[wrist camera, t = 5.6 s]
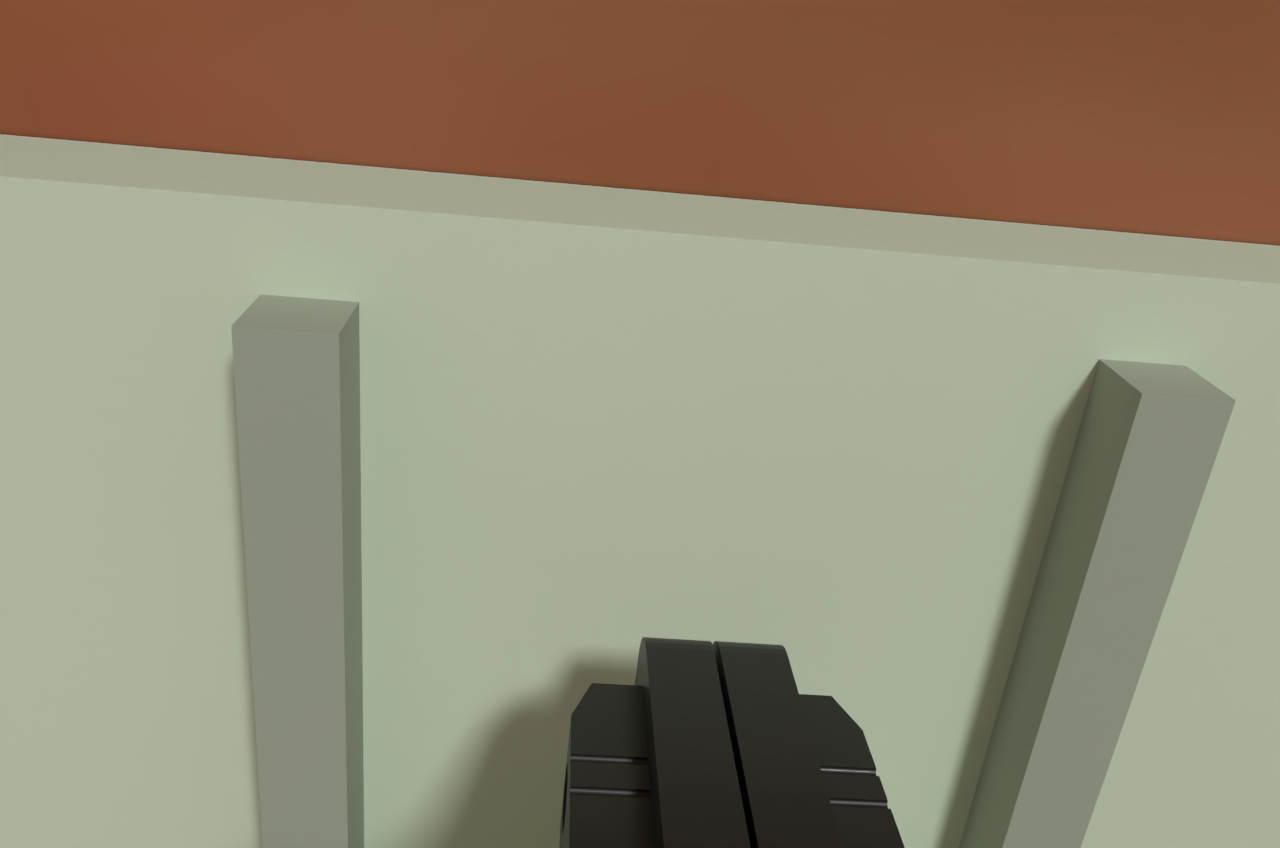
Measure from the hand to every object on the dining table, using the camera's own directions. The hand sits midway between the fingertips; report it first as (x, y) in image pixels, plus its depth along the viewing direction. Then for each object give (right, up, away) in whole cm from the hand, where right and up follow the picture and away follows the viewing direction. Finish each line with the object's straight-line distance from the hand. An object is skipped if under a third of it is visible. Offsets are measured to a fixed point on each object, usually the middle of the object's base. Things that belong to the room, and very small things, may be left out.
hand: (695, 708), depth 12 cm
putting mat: (-1, -9, +8) cm, 12 cm away
